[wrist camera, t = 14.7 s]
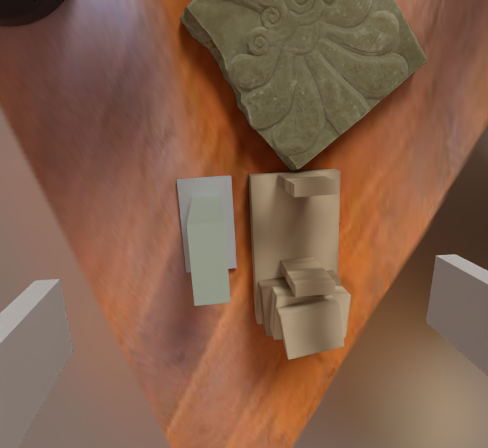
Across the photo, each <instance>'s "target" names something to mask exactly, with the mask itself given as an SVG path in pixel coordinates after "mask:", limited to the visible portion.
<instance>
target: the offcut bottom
mask: <svg viewBox="0 0 488 448" xmlns="http://www.w3.org/2000/svg"><path fill="white" fill-rule="evenodd" d="M326 272H327V273H328V274H329V275H330V276H331V277H332V279H333V280H334V281H335V282H336V284H335V286H341V278H340V277H339V276H338V275H337V274H336V273H335V272H334V271H333V270H329V271H326ZM258 282H259V292H260V302H261V312H262V322H263V328H264V331H265V334H266V337H271V336H273V335H272V332H271V329H270V315H271V299H272V287H286V286H289V284H288V283H287V281H286V279H285V277H280V278H273V279H266V280H259V281H258Z"/></svg>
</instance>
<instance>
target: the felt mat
mask: <svg viewBox="0 0 488 448" xmlns="http://www.w3.org/2000/svg"><path fill="white" fill-rule="evenodd" d="M177 188H178V198H179V208H180V218H181V227H182V237H183V247H184V256H185V266H186V273H187V272H191V265H190V255H189V245H188V235H187V220H188V215H189V209H190V204H191V199H192V197H198V196H212V195H219V198H220V202H221V207H222V211H223V215H224V220H225V229H226V244H227V259H228V269H232V268H237V264H236V248H235V231H234V214H233V198H232V181H231V175H230V176H214V177H199V178H183V179H177Z"/></svg>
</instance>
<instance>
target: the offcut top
mask: <svg viewBox="0 0 488 448" xmlns="http://www.w3.org/2000/svg"><path fill="white" fill-rule="evenodd" d="M277 312H278V318H279V323H280V328H281V334H282V339H283V345H284V349H285V352H286V354H287V357H288V360H290V359H294V358H298V357H302V356H306V355H310V354H314V353H319V352H323V351H327V350H331V349H335V348H339V347H343V346H344V338H343V330H342V322H341V314H340V307H339V303H338V302H337V300H336V299H335V298H334V297H333V295H329V296H324V297H320V298H316V299H311V300H307V301H303V302H298V303H294V304H290V305H285V306H281V307H277Z"/></svg>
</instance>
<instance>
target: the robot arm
mask: <svg viewBox="0 0 488 448" xmlns="http://www.w3.org/2000/svg"><path fill="white" fill-rule="evenodd" d="M63 1H64V0H0V26H19V25H25V24H29V23H32V22H35V21H38V20H40V19H42V18H44V17H46V16H47V15H49V14H50V13H51V12H53V11H54V10H55V9H56V8H57V7H58V6H59V5H60V4H61V3H62V2H63ZM426 322H427V323H428V324H429V325H430V326H432V327H433V328H434V329H435V330H436V331H437V332H438V333H439V334H441V335H442V336H443V337H444V338H445V339H446V340H448V341H449V342H450V343H451V344H452V345H453V346H454V347H455V348H457V349H458V350H459V351H460V352H461V353H462V354H463V355H465V356H466V357H467V358H468V359H469V360H470V361H472V362H473V363H474V364H475V365H476V366H477V367H478V368H479V369H481V370H482V371H483V372H484V373H485V374H486V375H488V271H487V270H485V269H483V268H481V267H479V266H477V265H475V264H473V263H471V262H469V261H467V260H465V259H463V258H461V257H459V256H457V255H439V256H436V260H435V267H434V273H433V280H432V287H431V294H430V300H429V307H428V314H427V320H426ZM72 353H73V347H72V341H71V336H70V330H69V325H68V319H67V314H66V308H65V303H64V298H63V292H62V286H61V280H60V279H52V280H38V281H37V280H36V281H34V282H33V283H32V284H31V285H30V286H29V287H28V288H27V289H26V290H25V291H23V292H22V293H21V294H20V295H19V296H18V297H17V298H16V299H15V300H14V301H13V302H12V303H11V304H10V305H8V306H7V307H6V308H5V309H4V310H3V311H2V312H1V313H0V448H18V447H19V445H20V444H21V442H22V440H23V438H24V436H25V435H26V433H27V431H28V430H29V428H30V426H31V424H32V423H33V421H34V419H35V418H36V416H37V414H38V412H39V411H40V409H41V407H42V405H43V404H44V402H45V400H46V398H47V396H48V395H49V393H50V391H51V390H52V388H53V386H54V384H55V383H56V381H57V379H58V377H59V376H60V374H61V372H62V370H63V369H64V367H65V365H66V363H67V362H68V360H69V358H70V356H71V355H72Z"/></svg>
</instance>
